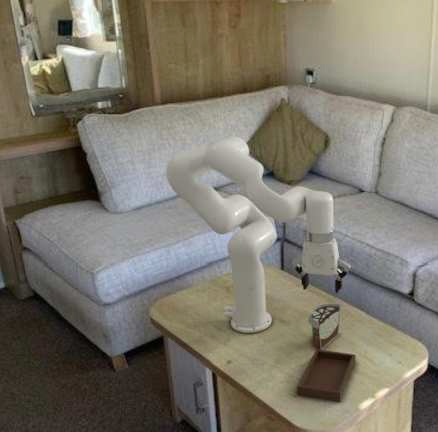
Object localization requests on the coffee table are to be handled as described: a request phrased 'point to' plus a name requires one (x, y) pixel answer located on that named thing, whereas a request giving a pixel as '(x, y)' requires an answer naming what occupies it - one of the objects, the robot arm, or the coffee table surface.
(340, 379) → the tray
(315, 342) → the lattice half-cylinder
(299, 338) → the coffee table surface
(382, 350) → the coffee table surface
